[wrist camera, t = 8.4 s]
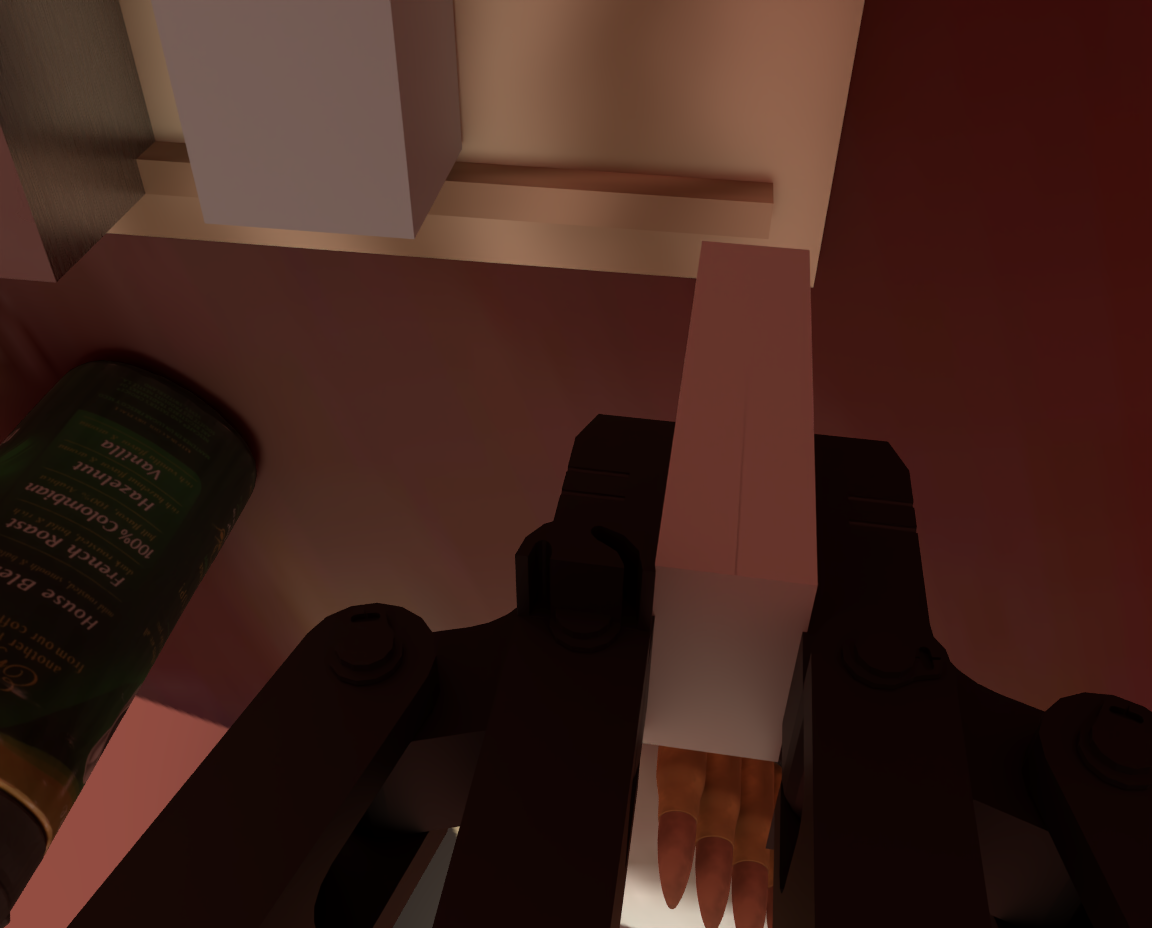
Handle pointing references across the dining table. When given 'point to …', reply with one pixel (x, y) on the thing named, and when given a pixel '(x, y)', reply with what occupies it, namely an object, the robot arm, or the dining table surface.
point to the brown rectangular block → (65, 132)
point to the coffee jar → (96, 575)
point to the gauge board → (590, 135)
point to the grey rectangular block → (315, 110)
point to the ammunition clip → (717, 832)
